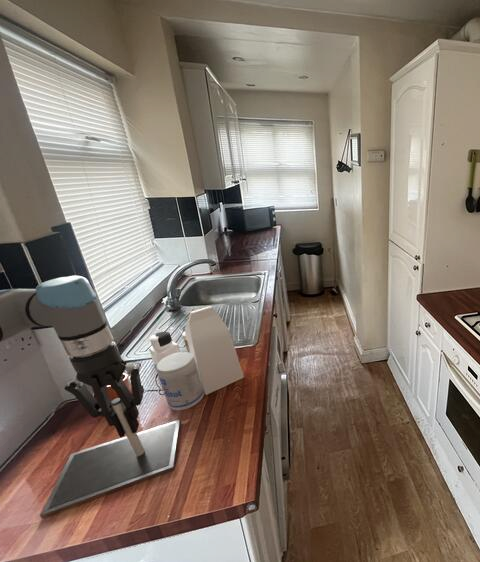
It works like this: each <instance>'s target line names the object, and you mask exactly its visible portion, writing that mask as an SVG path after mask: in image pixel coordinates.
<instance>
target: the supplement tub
mask: <svg viewBox="0 0 480 562" xmlns="http://www.w3.org/2000/svg"><path fill="white" fill-rule="evenodd" d="M156 372H157V377H158V379H159V382H160V385H161V388H162V390H163V394H164V396H165V399H166V402H167V405H168V407H169V408H170V409H171V410H172V411H184V410H187V409H190V408H192V407H194V406H196V405H197V404H199V403H200V402H201V401H202V400H203V398H204V395H205V392H204V391H203V387H202V384H201V380H200V376H199V373H198V369H197V366H196V362H195V359H194V357H193V355H192V354H191V353H189V352H187V351H180V352H179V353H175V354H172V355H169V356H167V357H165V358H164V359H162V360H161V361H160V362H159V363H158V364H157V366H156Z"/></svg>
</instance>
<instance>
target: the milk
mask: <svg viewBox="0 0 480 562" xmlns="http://www.w3.org/2000/svg"><path fill="white" fill-rule="evenodd" d="M184 332H185V333H186V337H187V341H188V345H189V349H190V353H191V354H192V355H193V357H194V359H195V362H196V366H197V369H198V373H199V376H200V380H201V384H202V387H203V391H204V395H205V396H207V395H209V394H211V393H214V392H216V391H219V390H220V389H223V388H224V387H227V386H229V385H231V384H233V383H235V382H237V381H239V380H242V379H244V378H245V376H244V373H243V370H242V365H241V363H240V359H239V357H238V353H237V350H236V347H235V344H234V341H233V338H232V334H231V332H230V330H229V328H228V326H227V324H226V323H225V322H224V320H223V318H222V317H221V316H220V314H219V313H218V312H217V311H216V310H215V308H214V307H213V306H211V305H209V306H205V307H201V308H199V309H196V310H192V311H190V312H189V316H188V320H187V323H186V325H185V328H184Z"/></svg>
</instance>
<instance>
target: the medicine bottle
mask: <svg viewBox="0 0 480 562" xmlns="http://www.w3.org/2000/svg"><path fill="white" fill-rule="evenodd" d="M149 341H150V344H151V346H150V347H148V351H149V354H150V356H151V359H152V361H153V364H154V365H155V366H156V367H157V364H158V363H159V362H160V361H161V360H162V359H164V358H165V357H167V356H169V355H172V354H175V353H179V352H181V349H180V346H179V344H178V343H176V342H175V341H173V338H172V335H171V333H170V332H169V331H159V332H156V333H155V334H153V335H151V336H150V338H149Z"/></svg>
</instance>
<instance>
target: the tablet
mask: <svg viewBox="0 0 480 562" xmlns="http://www.w3.org/2000/svg"><path fill="white" fill-rule="evenodd" d="M181 426H182V420H181V419H176V420H173V421H171V422H167V423H164V424H161V425H157V426H155V427H151V428H147V429H145V430H142V431H139V432H138V431H137V432H136V433H137V435H138V437H139V440H140V442H141V444H142V446H143V448H144V453H143V454H142V455H140V456H136V455H135V452H134V450H133V448H132V446H131V444H130V442H129V440H128V438H127V436H126V435H125V436H123V437H119V438H117V439H113V440H110V441H107V442H104V443H101V444H96V445H93V446H91V447H87V448H84V449H82V450H77V451H75V452H72V453H71V454H70V455H69V457H68V458H67V461H66V462H65V464H64V467H63V469H62V470H61V473H60V475H59V477H58V478H57V481H56V483H55V484H54V487H53V489H52V491H51V493H50V494H49V496H48V499H47V500H46V502H45V505H44V506H43V508H42V510H41V512H40V514H39V517H40V518H41V520H42V519H45V518H49V517H51V516H53V515H56V514H59V513H63V512H65V511H67V510H70V509H72V508H76V507H78V506H80V505H83V504H86V503H89V502H91V501H94V500H97V499H99V498H103V497H105V496H108V495H111V494H113V493H116V492H119V491H122V490H125V489H128V488H129V487H133V486H135V485H138V484H140V483H144V482H146V481H149V480H151V479H153V478H157V477H160V476H162V475H164V474H168V473H170V472H172V471H175V469H176V462H177V455H178V447H179V441H180V435H181V428H182V427H181Z"/></svg>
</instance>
